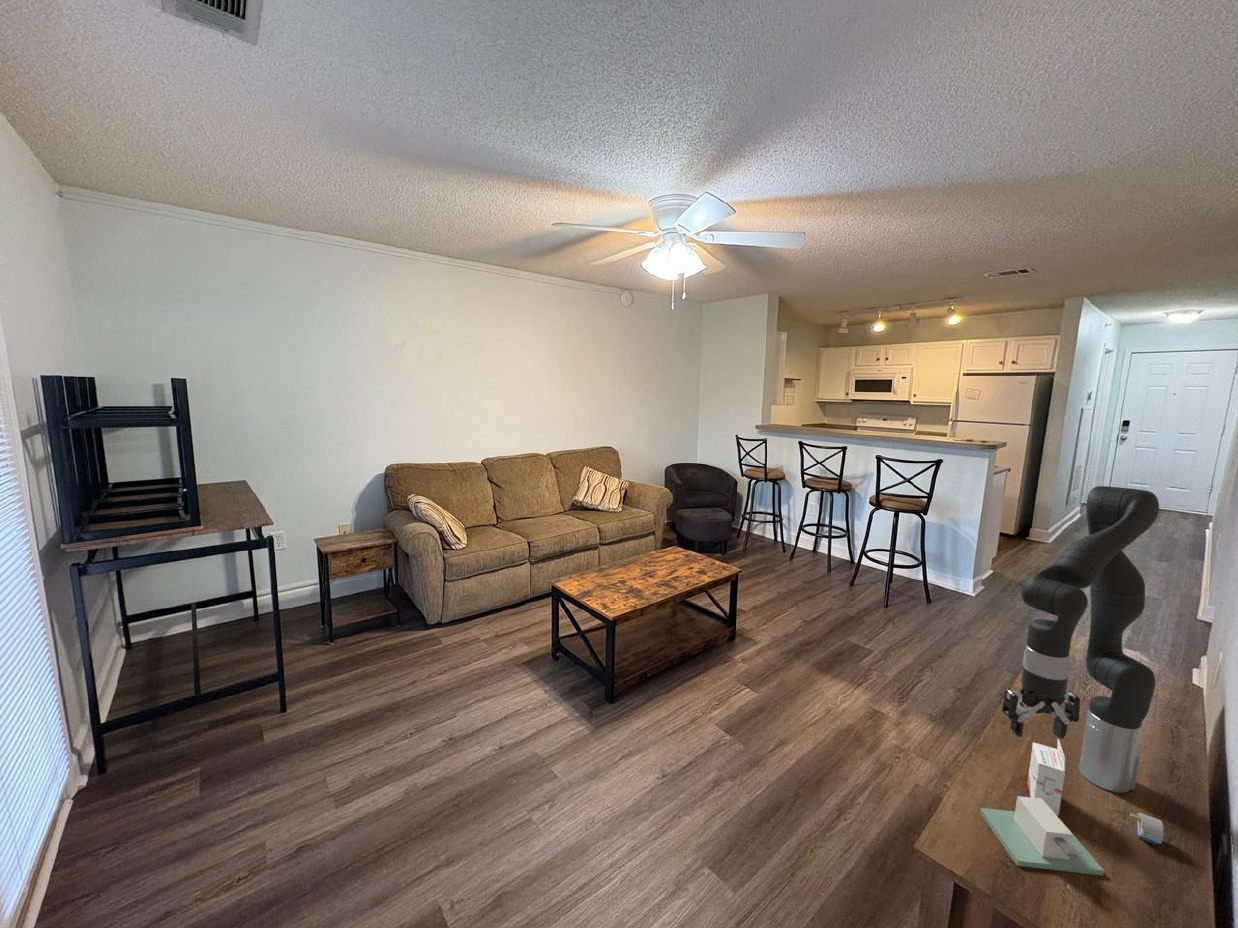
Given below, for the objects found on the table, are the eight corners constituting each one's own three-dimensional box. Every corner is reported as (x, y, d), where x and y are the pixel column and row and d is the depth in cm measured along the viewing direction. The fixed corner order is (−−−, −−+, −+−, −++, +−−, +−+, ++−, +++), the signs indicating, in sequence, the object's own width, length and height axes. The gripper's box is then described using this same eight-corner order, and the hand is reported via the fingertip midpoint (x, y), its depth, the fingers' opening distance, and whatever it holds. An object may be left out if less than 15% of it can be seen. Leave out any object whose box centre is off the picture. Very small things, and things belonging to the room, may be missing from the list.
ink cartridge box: (1025, 782, 123) (1033, 729, 120) (1051, 791, 120) (1060, 737, 118) (1031, 807, 116) (1040, 751, 113) (1059, 817, 113) (1068, 759, 111)
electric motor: (1124, 820, 112) (1128, 800, 111) (1155, 831, 109) (1159, 812, 108) (1129, 841, 107) (1133, 820, 106) (1161, 854, 104) (1166, 833, 103)
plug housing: (1038, 822, 110) (1041, 798, 109) (1082, 876, 98) (1086, 850, 97) (1013, 819, 111) (1017, 795, 110) (1054, 872, 99) (1058, 847, 98)
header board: (1055, 820, 112) (1058, 801, 111) (1103, 875, 99) (1107, 855, 99) (979, 812, 114) (982, 794, 113) (1016, 865, 101) (1019, 845, 101)
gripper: (1066, 659, 110) (1058, 725, 113) (998, 658, 112) (992, 722, 114) (1095, 679, 103) (1085, 748, 105) (1022, 677, 104) (1014, 745, 107)
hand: (1037, 735), depth 110 cm, fingers open, 8 cm apart
